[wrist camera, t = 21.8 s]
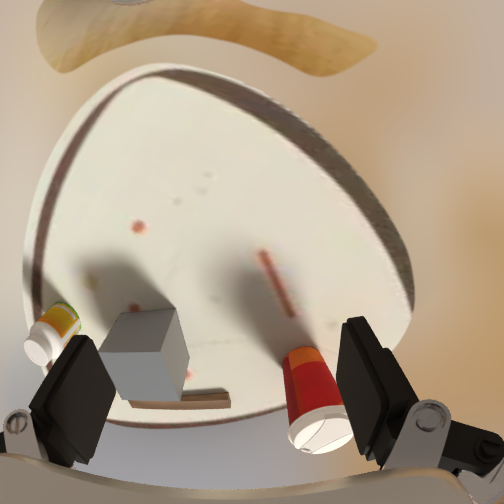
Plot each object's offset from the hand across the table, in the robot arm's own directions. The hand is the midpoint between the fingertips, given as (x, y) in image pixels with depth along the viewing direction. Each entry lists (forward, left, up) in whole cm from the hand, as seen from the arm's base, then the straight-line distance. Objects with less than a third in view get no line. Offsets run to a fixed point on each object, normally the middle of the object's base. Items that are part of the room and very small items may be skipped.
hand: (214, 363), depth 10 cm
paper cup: (+22, +6, -23) cm, 32 cm away
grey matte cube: (+15, -13, -23) cm, 30 cm away
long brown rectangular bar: (+27, -13, -23) cm, 38 cm away
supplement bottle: (+11, -26, -23) cm, 37 cm away
